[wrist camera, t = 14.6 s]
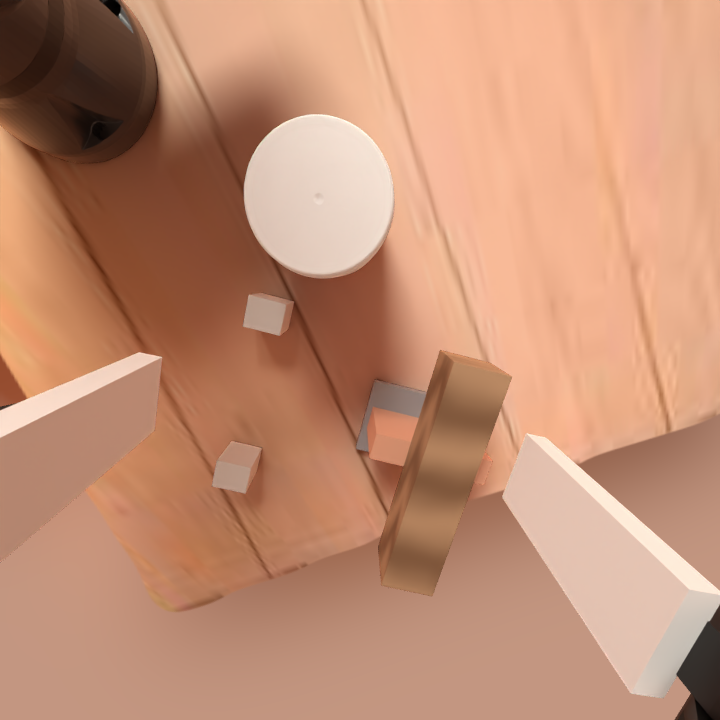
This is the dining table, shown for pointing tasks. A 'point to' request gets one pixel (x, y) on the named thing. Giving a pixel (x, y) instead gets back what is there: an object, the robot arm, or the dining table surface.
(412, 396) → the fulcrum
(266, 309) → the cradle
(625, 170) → the dining table surface
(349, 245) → the supplement tub
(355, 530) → the dining table surface
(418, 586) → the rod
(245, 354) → the dining table surface
